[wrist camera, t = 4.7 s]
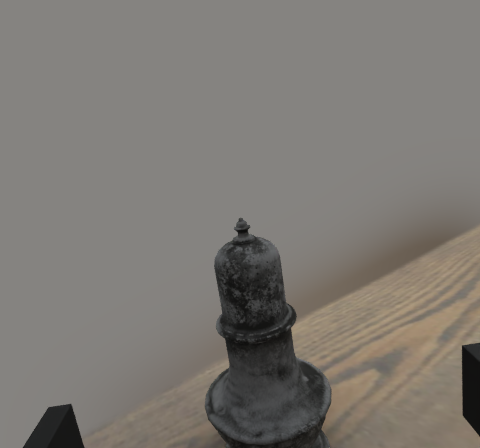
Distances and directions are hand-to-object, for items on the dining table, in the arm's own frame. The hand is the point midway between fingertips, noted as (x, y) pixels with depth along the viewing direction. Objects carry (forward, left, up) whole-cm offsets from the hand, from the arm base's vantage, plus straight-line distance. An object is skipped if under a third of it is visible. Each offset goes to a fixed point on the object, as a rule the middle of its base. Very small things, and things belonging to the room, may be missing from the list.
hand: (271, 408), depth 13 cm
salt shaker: (0, +5, -7) cm, 8 cm away
